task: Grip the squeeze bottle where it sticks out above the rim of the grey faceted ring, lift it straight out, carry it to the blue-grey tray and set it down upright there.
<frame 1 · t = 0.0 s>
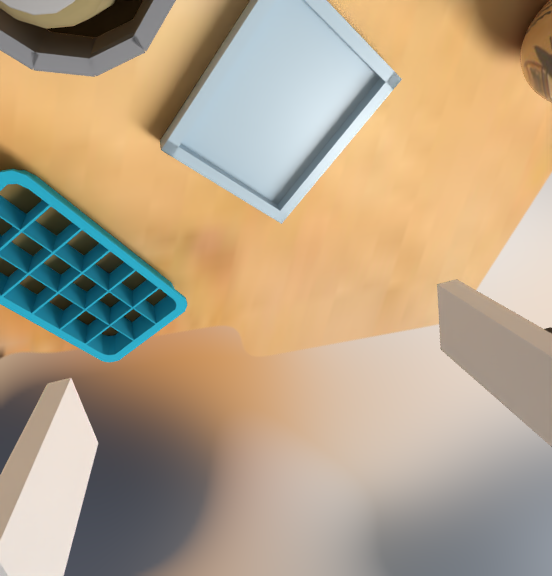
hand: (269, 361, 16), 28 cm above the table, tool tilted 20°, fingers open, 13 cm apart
tray: (277, 106, 38), on the table
ice cube tray: (73, 262, 44), on the table
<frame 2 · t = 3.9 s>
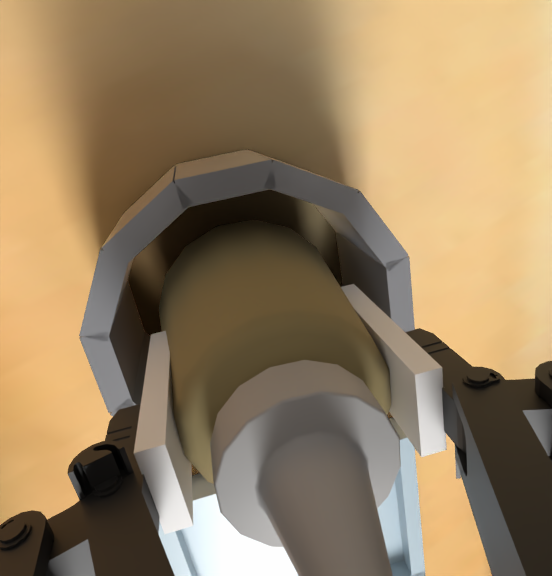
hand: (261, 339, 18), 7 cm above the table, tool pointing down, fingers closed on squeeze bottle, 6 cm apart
squeeze bottle: (240, 280, 24), resting in grey faceted ring, touching gripper
grey faceted ring: (240, 281, 24), on the table
tray: (296, 525, 31), on the table
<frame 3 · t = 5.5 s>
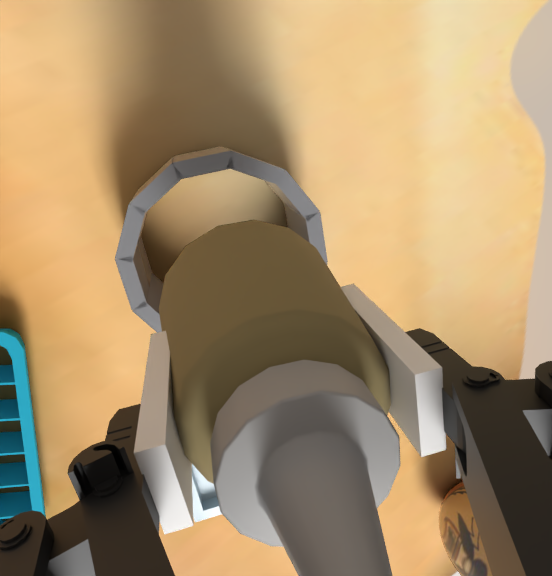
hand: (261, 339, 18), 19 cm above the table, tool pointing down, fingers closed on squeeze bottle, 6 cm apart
squeeze bottle: (240, 280, 24), point 11 cm above the table, touching gripper
grey faceted ring: (218, 237, 35), on the table
ceramic vessel: (466, 491, 50), on the table
tray: (263, 426, 41), on the table
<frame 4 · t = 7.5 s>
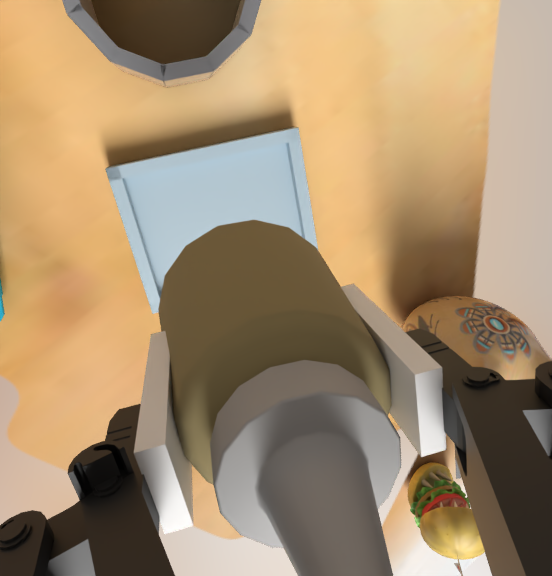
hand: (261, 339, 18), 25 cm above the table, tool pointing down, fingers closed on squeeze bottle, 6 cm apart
hamburger: (421, 477, 58), on the table
squeeze bottle: (239, 280, 24), point 18 cm above the table, touching gripper
ceramic vessel: (433, 318, 50), on the table
tray: (220, 219, 41), on the table
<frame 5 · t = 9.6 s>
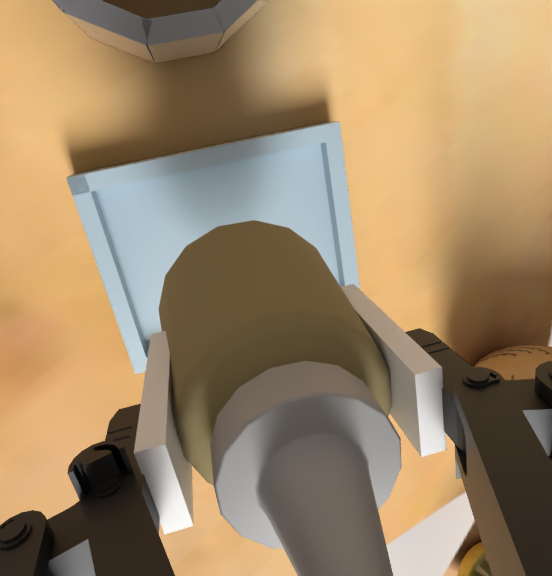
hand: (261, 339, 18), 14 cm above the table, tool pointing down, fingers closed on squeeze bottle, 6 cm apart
hamburger: (470, 557, 47), on the table
squeeze bottle: (240, 280, 24), point 7 cm above the table, touching gripper
ceramic vessel: (498, 369, 39), on the table
tray: (229, 246, 30), on the table
when the fingers open (9 cm above the table, at t = 11.3 s): squeeze bottle drops 2 cm, resting on tray.
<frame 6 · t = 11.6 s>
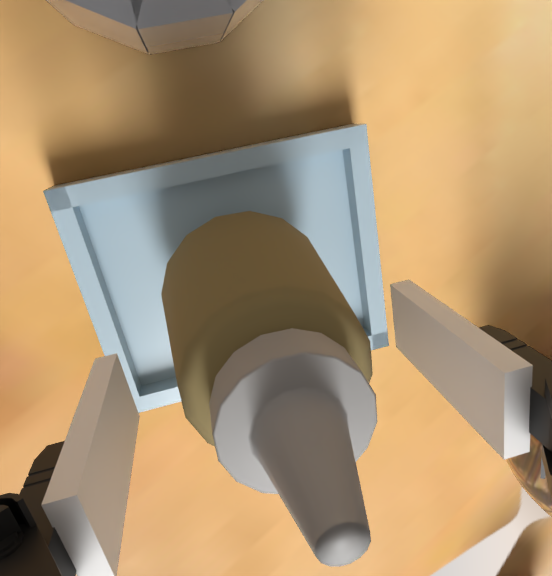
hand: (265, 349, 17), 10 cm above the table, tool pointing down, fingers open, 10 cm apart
squeeze bottle: (237, 269, 26), point 1 cm above the table, touching tray
ceramic vessel: (534, 400, 35), on the table
tray: (235, 267, 26), on the table
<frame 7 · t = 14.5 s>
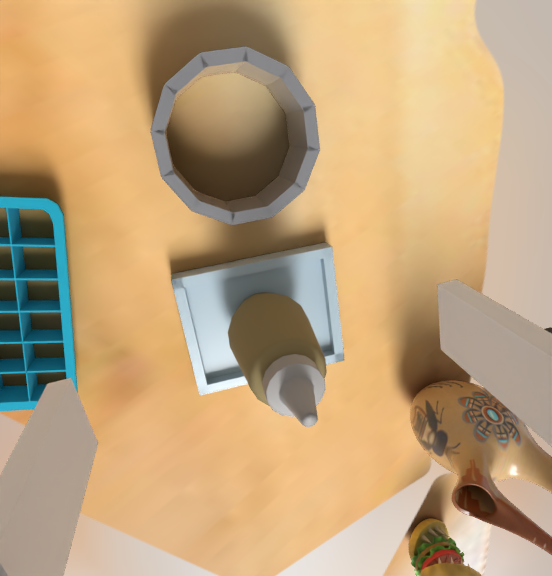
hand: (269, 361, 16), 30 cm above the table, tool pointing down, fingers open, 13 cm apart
hamburger: (420, 531, 64), on the table
squeeze bottle: (262, 317, 48), point 1 cm above the table, touching tray
grey faceted ring: (229, 139, 42), on the table
ceramic vessel: (436, 395, 57), on the table
tray: (260, 315, 48), on the table
ice cube tray: (11, 299, 43), on the table
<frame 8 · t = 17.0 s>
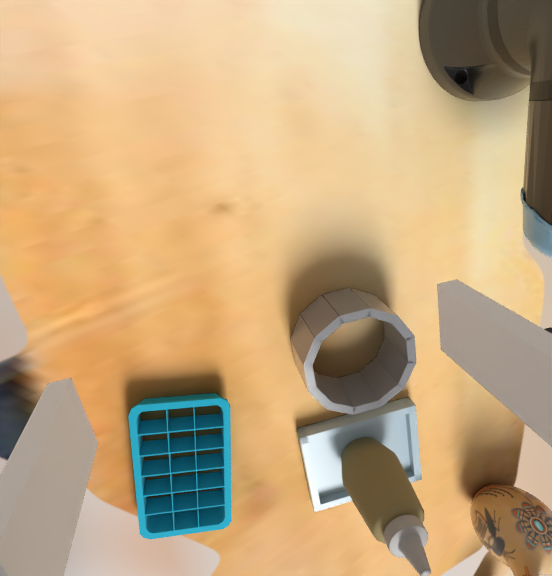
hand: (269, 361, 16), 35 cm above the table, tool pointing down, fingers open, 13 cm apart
squeeze bottle: (360, 452, 63), point 1 cm above the table, touching tray
grey faceted ring: (342, 338, 57), on the table
ceramic vessel: (488, 492, 72), on the table
tray: (358, 450, 63), on the table
ice cube tray: (183, 454, 59), on the table
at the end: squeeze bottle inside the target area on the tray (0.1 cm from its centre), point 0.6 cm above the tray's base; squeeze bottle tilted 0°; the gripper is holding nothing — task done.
